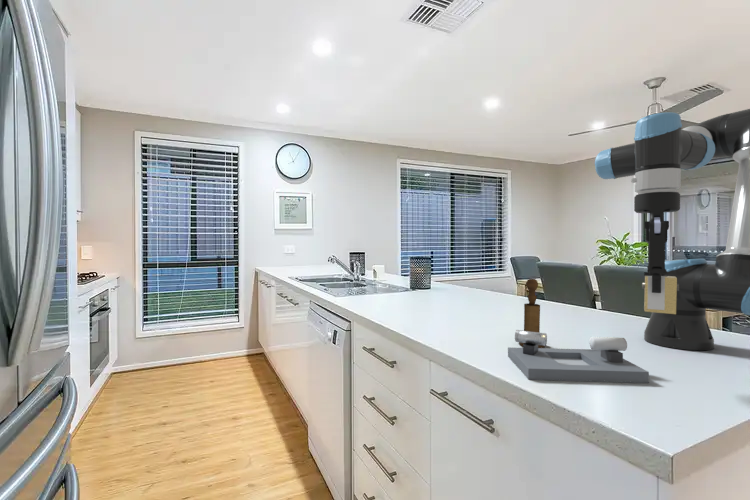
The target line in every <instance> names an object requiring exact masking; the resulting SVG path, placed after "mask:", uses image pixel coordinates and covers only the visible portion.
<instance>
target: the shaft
mask: <svg viewBox="0 0 750 500" xmlns="http://www.w3.org/2000/svg"><path fill="white" fill-rule="evenodd" d="M514 341H515V343H519V342H521V343H525V344H523V346H522V348H523V354H529V355H535V354H536V353H537V352H538V345H542V346H545V347H546V346H547V345H548V344H547V343H548V335H547V333H546V332H540V333H539V332H531V331H524V329H523V330H521V329H515V332H514Z"/></svg>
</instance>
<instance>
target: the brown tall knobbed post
mask: <svg viewBox="0 0 750 500" xmlns="http://www.w3.org/2000/svg"><path fill="white" fill-rule="evenodd" d="M525 282H526V283H525V286H526V288H527V290H528V295H527V300H528V303H524V306H523V307H524V308H523V309H524V313H523V314H524V315H523V331H531V332H539V333H541V332H540V331H541V330H540V328H541V327H540V326H541V324H540V323H541V320H540V319H541V304H538V303H536V301H537V294H536V291H537V289H538V287H539V283H538V280H537V279H536V278H528V279H527V281H525ZM523 344H525V343H521V342H518V345H519V346H521V347H523ZM538 348H546V346H542V345H538Z"/></svg>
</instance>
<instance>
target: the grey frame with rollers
mask: <svg viewBox="0 0 750 500" xmlns="http://www.w3.org/2000/svg"><path fill="white" fill-rule="evenodd" d="M588 343H589V347H590V349H587V348H586V349H585V348H554V347H552V348H546V347H544V348H538V352H537V353H536V354H535V355H529V354H523V347H509V346H508V347H507V358H509V359H510V361H511V362H512V364H514V365H515V366H516V367H517V369H519V371H520V370H521V371H520V372H521V373H522V374H523V375H524V376H525V377H526V378H527V380H538V381H539V380H541V381H571V382H573V381H575V382H598V383H599V382H605V383H636V384H637V383H639V384H649V382H650V378H649V377H650V376H649V374H650V372H649V371H648V370H646V369H644V368H642V367H640V366H639V365H637V364H635V363H633V362H630V361H629V360H628V359H625V358H624V353H623V352H625V351H626V350H628V341H627V339H626V338H625V337H615V336H613V337H610V336H607V337H606V336H602V337H601V336H590V338H589V342H588ZM622 351H623V352H622Z"/></svg>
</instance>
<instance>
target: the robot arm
mask: <svg viewBox="0 0 750 500" xmlns="http://www.w3.org/2000/svg"><path fill="white" fill-rule="evenodd" d="M681 118H682V117H681V114H679V113H677V112H673V111H669V112H668V111H666V112H657V113H653V114H649V115H646V116H644V117H641V118H640V119H638V120H637V122H636V123H635V128H634V129H635V131H634V137H633V140H634V143H633V142H632V143H629V144H623V145H620V146H615V147H610V148H606V149H604V150H601V151H599V153H597V155H596V156H595V160H594V166H595V173H596V174H597V175H598V176H599V178H601V179H603V180H612V179H614V180H615V179H620V178H626V177H632V178H631V180H630V182H631V183H632V184H633V183H635V184H634V192H635V193H638V194H635V196H634V200H633V201H634V203H633V204H634V205H633V209H634V212H635V213H636V214H649V221H644V231H645V242H646V243H647V244H648V245H647V247H648V249H647V250H648V251H647V252H648V253H647V255H648V257H647V258H648V259H647V260H648V261H647V262H648V263H647V267H646V268H647V272H646V271H645V272H644V273H643V275H644V277H645V276H648V309H656V310H665V277H664V276H675V277H676V278H677V284H679V291H678V290H677V296H676V314H667V313H656V312H651V314H650V317H649V319H648V322H647V323H646V327H645V329H644V334H643V336H644V337H643V339H644V341H645V342H647V343H651V344H652V345H656V346H661V347H667V348H673V349H678V350H679V349H680V350H689V351H710V350H711V351H712V350H713V349H714V348H715V339H714V337H713V334H712V331H711V328H710V326H709V323H708V320H707V319H706V318H707V317H706V316H707V314H706V311H707V310H714V311H720V312H728V313H736V314H737V313H739V314H743V315H745V316H746V315H747V316H750V108H746V109H743V110H739V111H738V110H737V111H734V112H730V113H725V114H722V115H718V116H716V117H713V118H710V119H707V120H704V121H702V122H701V121H700V122H698V123H696V124H693V125H691V126H689V125H688V126H687V127H684V128H682V127H683V124H682V119H681ZM731 157H732V159H733V161H735V162H736V163H738V170H737V176H736V183H735V187H734V188H735V190H734V194H733V200H732V208H731V214H730V220H729V226H728V232H727V240H726V245H725V250H724V251H722V252H720V253H719V254H716V258H715V261H714V264H709V263H708V262H707V260H706V259H705V258H690V259H677V260H675V259H674V260H666V243H668V230H669V229H670V220H665V213H674V212H676V213H677V212H678V211H680V209H681V193H680V192H678V190H680V189H682V186H681V184H682V178H681V177H682V176H681V174H682V170H684V171H686V170H697V169H700V168H702V167H704V166H706V165H707V164H708V163H710V161H711V160H712V159H722V158H723V159H725V158H731ZM633 176H634V177H633Z"/></svg>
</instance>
